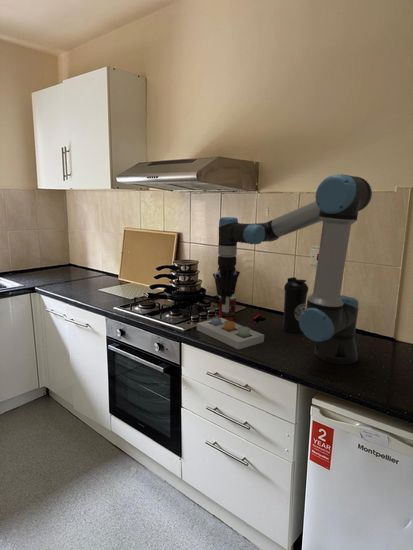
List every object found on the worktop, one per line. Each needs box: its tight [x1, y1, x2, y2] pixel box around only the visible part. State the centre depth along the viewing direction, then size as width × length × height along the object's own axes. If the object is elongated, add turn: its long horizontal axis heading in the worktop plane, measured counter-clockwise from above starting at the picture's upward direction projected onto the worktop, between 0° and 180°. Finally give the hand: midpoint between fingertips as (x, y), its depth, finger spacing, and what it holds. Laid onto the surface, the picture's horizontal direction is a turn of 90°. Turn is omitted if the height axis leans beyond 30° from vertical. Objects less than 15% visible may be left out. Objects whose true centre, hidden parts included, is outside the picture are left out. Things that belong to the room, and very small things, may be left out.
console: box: [196, 317, 265, 350], centre depth 161 cm, size 26×14×3 cm, turn 39°
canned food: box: [218, 294, 237, 321], centre depth 182 cm, size 8×8×11 cm
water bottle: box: [282, 276, 309, 334], centre depth 170 cm, size 10×10×23 cm
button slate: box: [210, 317, 221, 326], centre depth 167 cm, size 4×4×4 cm
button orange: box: [224, 320, 236, 332], centre depth 161 cm, size 4×4×4 cm
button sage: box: [238, 325, 251, 338], centre depth 154 cm, size 4×4×4 cm
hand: (225, 311), depth 162 cm, fingers closed
